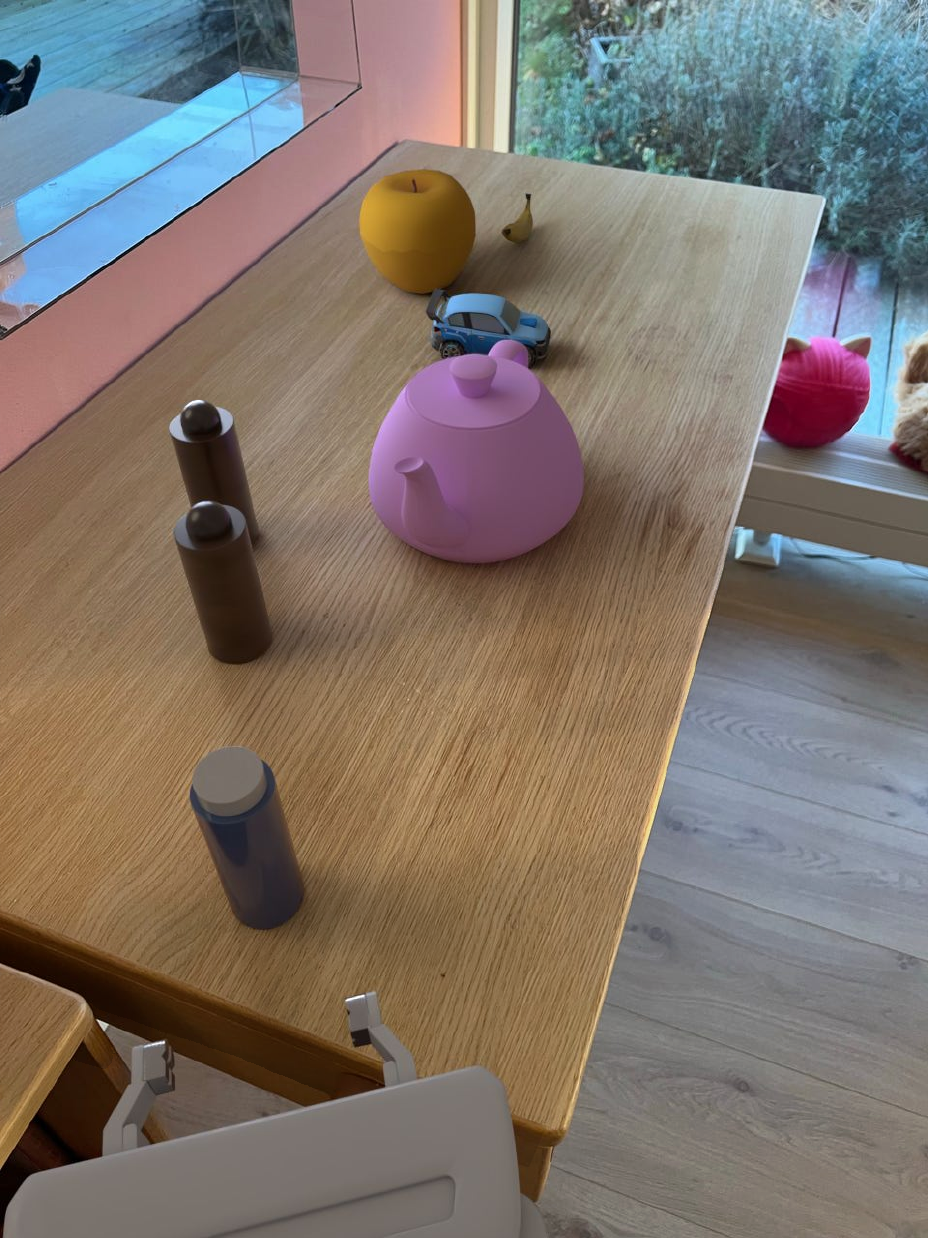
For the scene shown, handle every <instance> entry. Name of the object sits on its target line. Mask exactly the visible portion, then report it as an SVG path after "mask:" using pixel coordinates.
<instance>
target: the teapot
mask: <svg viewBox="0 0 928 1238" xmlns="http://www.w3.org/2000/svg"><path fill="white" fill-rule="evenodd" d="M370 457H371V458H370V462H369V468H368V490H369V493H368V494H369V499H370V503H371V506H372V508H373V509H374V512H375V514H376V515H377V517H378V519H379V521H380V522H381V523H382V524H383V526H384V527H385V528H386V529H388V530H389V532H390V533H392V534H393V535H394V536H396V537H397V538H399V539H400V540H401V541H402V542H404V543H405V544H407V545H409V546H410V547H412V548H414V549H416V550H418V551H420V552H422V553H424V554H426V555H429V556H430V557H434V558H437V559H440V560H444V561H449V562H453V563H454V562H455V563H461V564H490V563H496V562H503V561H506V560H510V559H514V558H517V557H519V556H522V555H524V554H525V555H526V554H527V553H528V552H530V551H532V550H535V549H536V548H538V547H540V546H541V545H543V544H544V543H546V542H547V541H549V540H550V539H552V538H553V537H554V536H555V535H557V534H558V533H559V532H560V531H562V530H563V529H564V528H565V527H566V525H567V524H568V523H570V521H571V520H572V518H573V516H574V515H575V513H576V511H577V509H578V508H579V506H580V504H581V501H582V498H583V493H584V486H585V485H584V484H585V483H584V481H585V475H584V465H583V460H582V458H583V457H582V454H581V449H580V446H579V442H578V439H577V436H576V433H575V431H574V429H573V426H572V424H571V422H570V420H569V419H568V417H567V415H566V414H565V412H564V410H563V408H562V407H561V406H560V404H559V403H558V401H557V400H556V398H555V397H554V396H553V394H552V392H551V391H550V390H549V389H548V387H547V386H546V385H545V383H544V382H543V381H542V380H541V379H540V378H539V377H538V375H536V373H534V372H533V371H532V370H531V369H529V366H528V352H527V349H526V347H525V346H524V345H523V344H522V343H520V342H517V341H514V340H502V341H499V342H497V343H496V344H495V345H494V346H493V348H492V349H491V351H490V353H489V355H481V354H467V355H466V354H465V355H463V356H457V357H452V358H447V359H441V360H438V361H436V362H433V363H431V364H429V365H427V366H426V367H424V368H423V369H421V370H420V371H418V372H417V373H416V374H415V375H413V377H412V378H411V379H410V380H409V381H408V382H407V384H405V386H404V387H403V389H402V390H401V392H400V393H399V395H397V398H396V400H395V401H394V403H393V404H392V406H391V408H390V410H389V411H388V412H387V414H386V416H385V418H384V420H383V421H382V423H381V426H380V428H379V430H378V431H377V435H376V438H375V440H374V444H373V447H372V452H371V456H370Z"/></svg>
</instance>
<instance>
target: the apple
mask: <svg viewBox="0 0 928 1238" xmlns="http://www.w3.org/2000/svg"><path fill="white" fill-rule="evenodd" d="M361 203H362V204H361V207H360V210H359V219H358V226H359V227H358V228H359V236H360V239H361V240H362V243H363V246H364V249H365V251H366V254H367V256H368V258H369V259H370V261H371V263H372V264H373V266H374V267H375V269H376V270H377V272H378V273H380V274H381V276H382V277H383V278H385V279H386V280H387V281H389V282H390V283H391V284H392V285H394V286H395V287H398V288H399V289H401V290H403V292H406V293H413V294H422V295H423V294H428V293H429V294H430V293H433V291H434V289H435V288H437V289H439V290H443V289H444V288H446V287H448V286H449V285H451V284H452V283H453V282H454V281H455V280H456V279H458V276H459V275H460V274H461V272H462V271H463V269H464V268H465V266H466V264H467V262H468V261H469V259H470V256H471V253H472V251H473V250H474V249H473V248H474V244H475V240H476V236H477V234H476V233H477V232H476V231H477V228H476V227H477V226H476V211H475V208H474V206H473V202H472V199H471V197H470V196H469V193H467V191H466V189H465V187H464V186H463V185H462V184H461V183H460V182H459V181H458V180H457V179H456V178H455V177H454V176H452V175H451V174H449V173H446V172H443V171H440V170H435V169H412V170H404V171H400V172H396V173H392V174H389V175H385V176H383V177H382V178H381V179H379V180H378V181H376V183H374V184H373V185H372V186H371V187H370V188H369V190H368V192H366V195H365V196H364V199H363V200H362V202H361Z"/></svg>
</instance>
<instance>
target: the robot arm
mask: <svg viewBox="0 0 928 1238" xmlns="http://www.w3.org/2000/svg"><path fill="white" fill-rule="evenodd" d="M344 1002H345V1009H346V1013H347V1023H348V1029H349V1034H350V1038H351V1041H352V1045H353V1048H354V1049H355V1048H360V1047H365V1046H369V1045H371V1046H372V1047H373V1048H374V1050H375V1051H376V1052H377V1053H378V1055H379V1056H380V1057H381V1058H382V1060H384V1063H383V1064H382V1073H383V1080H384V1087H381V1088H377V1089H372V1090H369V1091H368V1090H367V1091H364V1092H361V1093H357V1094H352V1095H348V1096H344V1097H340V1098H336V1099H332V1100H329V1101H328V1100H327V1101H324V1102H320V1103H316V1104H315V1103H314V1104H312V1105H308V1106H303V1107H300V1108H296V1109H292V1110H287V1111H283V1112H279V1113H275V1114H270V1115H267V1116H262V1117H259V1118H254V1119H250V1120H246V1121H243V1122H238V1123H234V1124H230V1125H225V1126H221V1127H217V1128H214V1129H209V1130H206V1131H202V1132H198V1133H193V1134H189V1135H185V1136H181V1137H177V1138H172V1139H169V1140H164V1141H160V1142H157V1143H153V1144H150V1140H148V1138H147V1137H146V1136H145V1134H144V1132H143V1131H142V1129H143V1127H144V1125H145V1123H146V1121H147V1118H148V1116H149V1115H150V1112H151V1110H152V1109H153V1105H154V1104H155V1101H156V1100H157V1097H158V1096H161V1095H163V1094H164V1095H165V1094H167V1093H171V1092H175V1091H176V1075H175V1074H174V1072H173V1069H174V1068H175V1054H174V1050H173V1047H172V1045H170V1043H169V1041H168V1039H167V1038H164V1039H160V1040H155V1041H152V1042H147V1043H146V1042H145V1043H142V1044H137V1045H134V1046H133V1047H132V1048H131V1075H130V1076H131V1077H130V1078H131V1079H130V1080H131V1081H130V1082H131V1083H130V1084H128V1085H127V1087H126V1088H125V1090H124V1092H123V1094H122V1095H121V1097H120V1099H119V1101H118V1103H117V1105H116V1106H115V1108H114V1109H113V1112H112V1113H111V1115H110V1117H109V1119H108V1121H107V1123H106V1124H105V1126H104V1128H103V1130H102V1154H101V1155H102V1156H100V1157H95V1158H91V1159H88V1160H87V1159H86V1160H83V1161H79V1162H75V1163H71V1164H66V1165H63V1166H59V1167H55V1168H51V1169H46V1170H42V1171H37V1172H35V1173H31V1174H30V1175H29V1176H27V1178H26V1179H25V1180H24V1181H23V1182H22V1184H21V1185H20V1186H19V1188H18V1189H17V1191H16V1192H15V1194H14V1196H13V1197H12V1198H11V1200H10V1201H9V1203H8V1205H7V1207H6V1210H5V1215H4V1223H3V1233H2V1234H3V1235H2V1238H550V1235H549V1232H548V1228H547V1224H546V1221H545V1218H544V1215H543V1213H542V1212H541V1209H540V1208H539V1207H538V1205H537V1204H536V1203H535V1202H534V1201H533V1200H532V1198H530V1197H529V1196H527V1195H526V1194H525V1193H523V1192H522V1191H521V1186H520V1185H521V1184H520V1172H519V1163H518V1152H517V1146H516V1145H517V1144H516V1137H515V1130H514V1125H513V1118H512V1112H511V1107H510V1102H509V1097H508V1092H507V1089H506V1085H505V1083H504V1081H503V1080H502V1079H501V1078H500V1077H498V1076H497V1075H495V1074H494V1073H493V1072H492V1071H491V1070H490V1069H488V1068H487V1067H485V1066H483V1065H482V1064H475V1065H470V1066H466V1067H463V1068H459V1069H455V1070H450V1071H447V1072H443V1073H438V1074H434V1075H430V1076H426V1077H425V1076H424V1077H422V1078H418V1074H417V1069H416V1064H415V1057H414V1055H413V1054H412V1053H411V1051H410V1050H409V1049H408V1048H407V1047H406V1046H405V1045H404V1043H402V1041H401V1040H400V1039H399V1038H398V1037H397V1035H395V1034H394V1033H393V1032H392V1030H391V1029H390V1028H389V1027H388V1026H387V1025H386V1024H385V1023H384V1024H383V1018H382V1012H381V1006H380V1003H379V997H378V991H377V990H371V991H366V992H363V993H359V994H355V995H351V996H346V997H344Z"/></svg>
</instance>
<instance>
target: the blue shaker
mask: <svg viewBox="0 0 928 1238" xmlns="http://www.w3.org/2000/svg"><path fill="white" fill-rule="evenodd" d="M189 802H190V806H191V808H192V810H193V813H194V816H195V818H196V822H197V824H198V827H199V829H200V832H201V835H202V837H203V840H204V842H205V845H206V847H207V850H208V853H209V855H210V857H211V860H212V862H213V865H214V868H215V870H216V873H217V876H218V879H219V880H220V883H221V886H222V889H223V891H224V894H225V896H226V899H227V901H228V904H229V906H230V909H231V912H232V915H234V917H235V919H236V920H238V922H240V923H241V924H242V925H244V926H246V927H249V928H252V929H255V930H269V929H274V928H276V927H279V926H282V925H283V924H285V923H287V922H288V921H289V920H291V919H292V918H293V917H294V916H295V915H296V914H297V913H298V911H299V910H300V908H301V906H302V904H303V902H304V898H305V890H306V889H305V883H304V880H303V876H302V871H301V869H300V865H299V862H298V857H297V854H296V851H295V847H294V846H295V845H294V843H293V839H292V835H291V832H290V828H289V825H288V821H287V818H286V813H285V810H284V807H283V803H282V799H281V796H280V792H279V787H278V785H277V781H276V777H275V773H274V772H273V769H272V768H271V767H270V765H269V764H268V763H267V762H266V761H264V760H263V759H261V757H260V756H259V754H257V753H256V752H255V751H254V750H252V749H250V748H248V747H245V746H241V745H229V746H227V745H226V746H222V747H220V748H219V747H218V748H217V749H215V750H212V751H211V752H209V753H208V754H206V755H205V756H204V757H203V758H202V759H200V761H198V763H197V765H196V766H195V768H194V770H193V773H192V778H191V785H190V790H189Z"/></svg>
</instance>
